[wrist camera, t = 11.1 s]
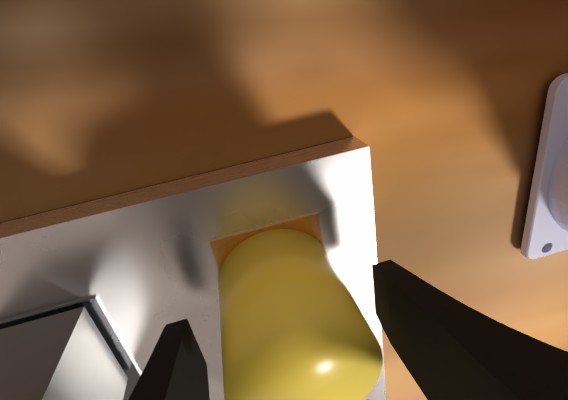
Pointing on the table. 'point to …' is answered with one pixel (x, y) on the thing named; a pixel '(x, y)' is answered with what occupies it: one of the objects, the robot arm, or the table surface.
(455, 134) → the table surface
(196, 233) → the panel
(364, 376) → the cap
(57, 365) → the block
